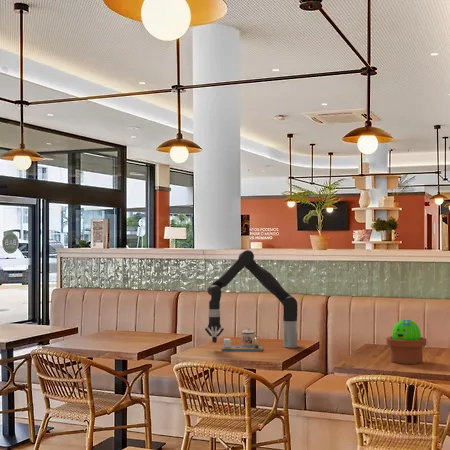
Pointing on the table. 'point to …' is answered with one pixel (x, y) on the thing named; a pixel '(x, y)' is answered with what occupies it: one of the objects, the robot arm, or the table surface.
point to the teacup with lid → (248, 337)
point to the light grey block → (226, 343)
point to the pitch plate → (245, 347)
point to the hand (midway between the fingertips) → (214, 342)
